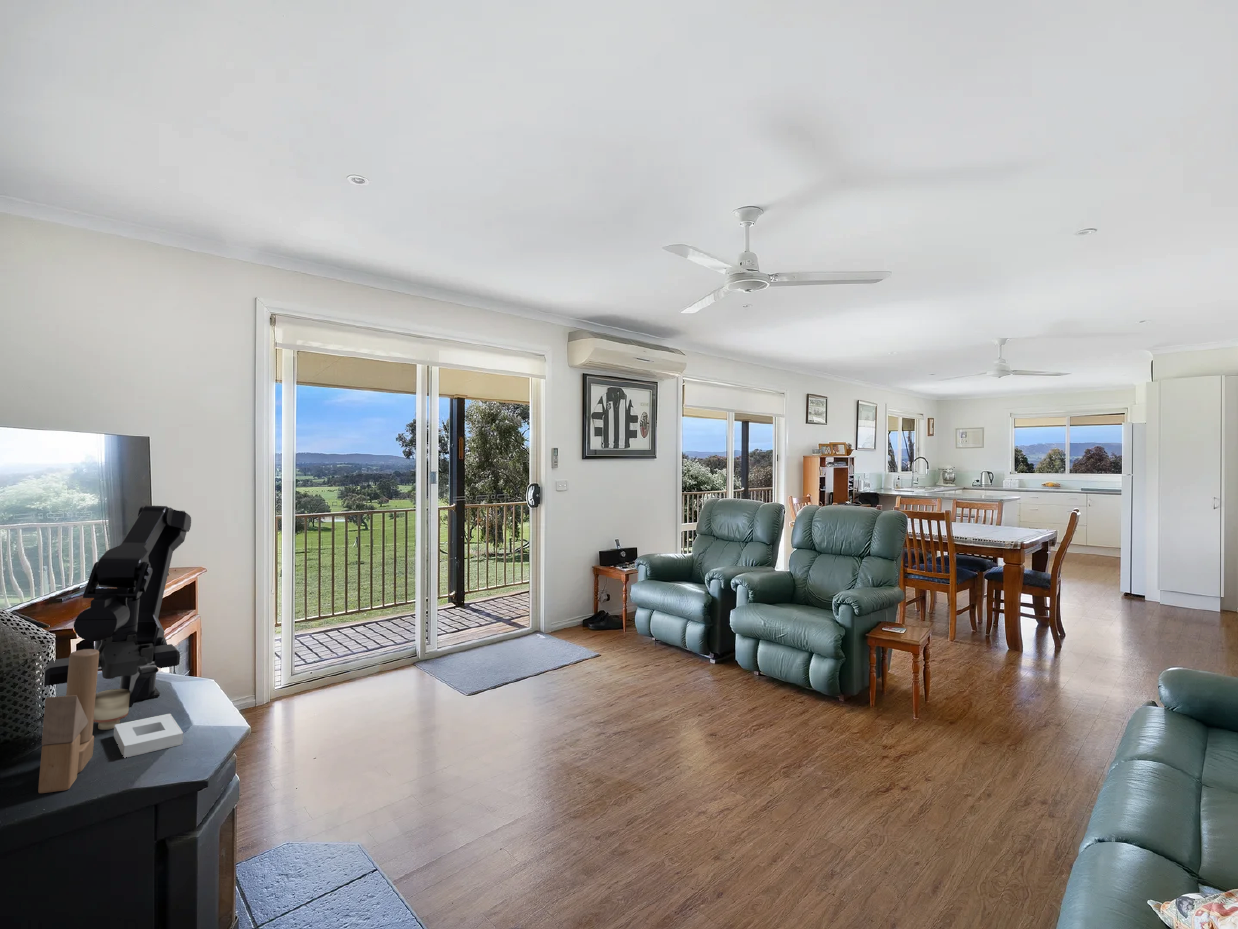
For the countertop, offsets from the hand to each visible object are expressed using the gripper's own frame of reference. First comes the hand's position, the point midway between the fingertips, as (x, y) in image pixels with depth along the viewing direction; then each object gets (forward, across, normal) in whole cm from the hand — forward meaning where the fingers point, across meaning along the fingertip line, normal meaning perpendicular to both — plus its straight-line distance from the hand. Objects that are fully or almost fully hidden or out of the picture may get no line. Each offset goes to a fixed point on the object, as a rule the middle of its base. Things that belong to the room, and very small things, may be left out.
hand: (110, 710), depth 109 cm
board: (+3, +4, -10) cm, 11 cm away
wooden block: (+3, -7, -16) cm, 18 cm away
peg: (+3, 0, 0) cm, 3 cm away
